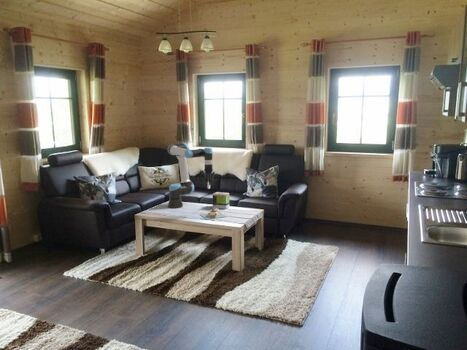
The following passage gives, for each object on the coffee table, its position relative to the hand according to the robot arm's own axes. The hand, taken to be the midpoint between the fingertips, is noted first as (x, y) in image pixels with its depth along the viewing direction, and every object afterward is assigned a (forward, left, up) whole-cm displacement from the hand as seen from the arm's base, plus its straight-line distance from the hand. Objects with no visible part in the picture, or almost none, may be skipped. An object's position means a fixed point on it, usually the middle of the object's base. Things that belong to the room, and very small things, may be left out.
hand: (208, 188), depth 355 cm
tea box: (-14, +18, -25) cm, 34 cm away
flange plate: (+9, +2, -24) cm, 26 cm away
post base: (+11, 0, -24) cm, 27 cm away
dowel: (+5, +8, -24) cm, 26 cm away
